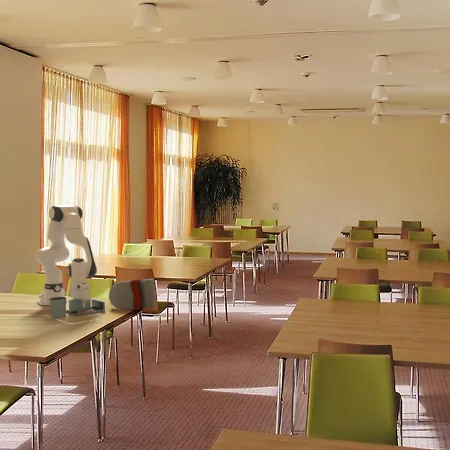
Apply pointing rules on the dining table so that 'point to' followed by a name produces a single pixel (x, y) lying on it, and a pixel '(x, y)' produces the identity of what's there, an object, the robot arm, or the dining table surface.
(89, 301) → the teal sheet
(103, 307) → the offcut rack
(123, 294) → the decorative stone tablet
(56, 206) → the robot arm
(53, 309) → the grey-green bin
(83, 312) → the offcut walnut
